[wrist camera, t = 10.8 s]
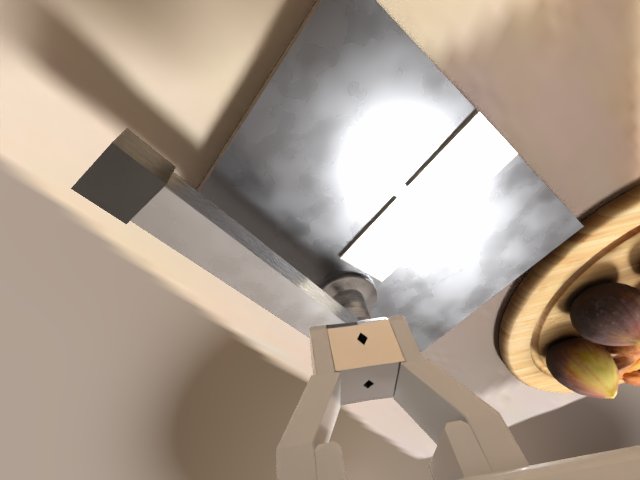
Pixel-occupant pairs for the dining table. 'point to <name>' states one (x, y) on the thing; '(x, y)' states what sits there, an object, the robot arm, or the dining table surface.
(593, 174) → the dining table surface
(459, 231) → the board
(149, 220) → the swing bar
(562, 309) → the wooden plate with food
